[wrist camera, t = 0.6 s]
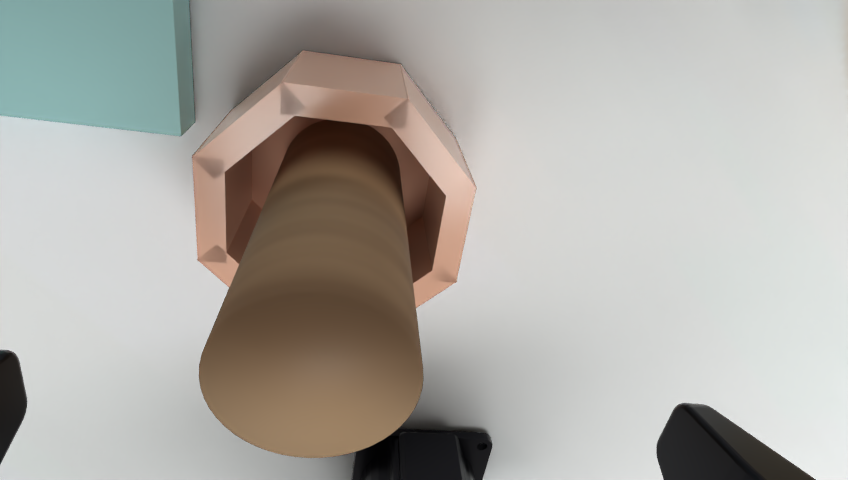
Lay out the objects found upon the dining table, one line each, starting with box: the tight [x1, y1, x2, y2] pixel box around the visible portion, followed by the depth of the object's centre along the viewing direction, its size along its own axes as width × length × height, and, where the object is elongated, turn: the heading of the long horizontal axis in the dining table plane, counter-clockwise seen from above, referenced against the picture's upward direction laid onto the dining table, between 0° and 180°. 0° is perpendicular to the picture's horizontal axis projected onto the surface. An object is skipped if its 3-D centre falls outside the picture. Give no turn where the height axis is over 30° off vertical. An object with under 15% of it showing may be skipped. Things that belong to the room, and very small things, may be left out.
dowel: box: [199, 120, 423, 458], centre depth 14 cm, size 4×4×10 cm
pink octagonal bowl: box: [192, 50, 477, 308], centre depth 17 cm, size 8×8×4 cm
